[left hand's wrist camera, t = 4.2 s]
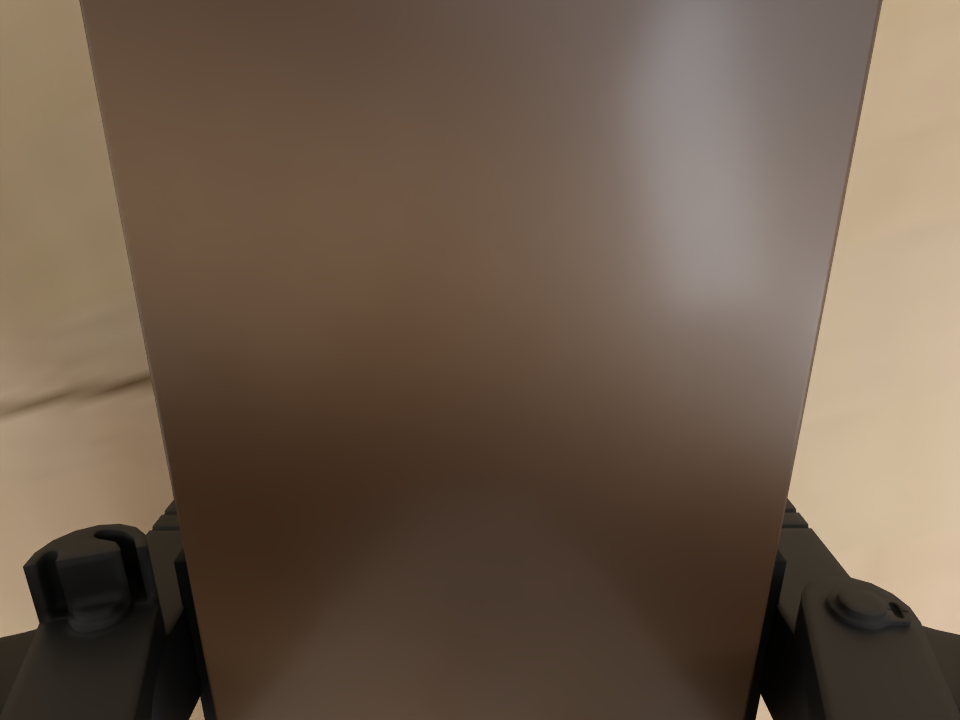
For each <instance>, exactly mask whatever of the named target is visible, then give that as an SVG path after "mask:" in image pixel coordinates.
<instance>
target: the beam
mask: <svg viewBox="0 0 960 720" xmlns="http://www.w3.org/2000/svg"><path fill="white" fill-rule="evenodd" d="M79 1H80V6H81V11H82V17H83V22H84V27H85V32H86V38H87V43H88V48H89V53H90V59H91V64H92V69H93V74H94V80H95V85H96V90H97V96H98V101H99V106H100V111H101V117H102V122H103V127H104V132H105V138H106V143H107V148H108V153H109V159H110V164H111V169H112V174H113V180H114V185H115V190H116V195H117V201H118V206H119V211H120V217H121V222H122V227H123V232H124V238H125V243H126V248H127V253H128V259H129V264H130V269H131V274H132V280H133V285H134V290H135V295H136V301H137V306H138V311H139V317H140V322H141V327H142V332H143V338H144V343H145V348H146V353H147V359H148V364H149V369H150V374H151V380H152V385H153V390H154V395H155V401H156V406H157V411H158V416H159V422H160V427H161V432H162V438H163V443H164V448H165V453H166V459H167V464H168V469H169V474H170V480H171V485H172V490H173V495H174V501H175V506H176V511H177V516H178V522H179V527H180V532H181V537H182V543H183V548H184V553H185V559H186V564H187V569H188V574H189V580H190V585H191V590H192V595H193V601H194V606H195V611H196V616H197V622H198V627H199V632H200V637H201V643H202V648H203V653H204V659H205V664H206V669H207V674H208V680H209V685H210V690H211V695H212V701H213V706H214V711H215V716H216V720H745V716H746V711H747V705H748V700H749V695H750V690H751V684H752V679H753V674H754V669H755V664H756V658H757V653H758V648H759V643H760V637H761V632H762V627H763V622H764V617H765V611H766V606H767V601H768V596H769V590H770V585H771V580H772V575H773V569H774V564H775V559H776V554H777V549H778V543H779V538H780V533H781V528H782V522H783V517H784V512H785V507H786V502H787V496H788V491H789V486H790V481H791V475H792V470H793V465H794V460H795V455H796V449H797V444H798V439H799V434H800V428H801V423H802V418H803V413H804V407H805V402H806V397H807V392H808V387H809V381H810V376H811V371H812V366H813V360H814V355H815V350H816V345H817V340H818V334H819V329H820V324H821V319H822V313H823V308H824V303H825V298H826V292H827V287H828V282H829V277H830V272H831V266H832V261H833V256H834V251H835V245H836V240H837V235H838V230H839V225H840V219H841V214H842V209H843V204H844V198H845V193H846V188H847V183H848V178H849V172H850V167H851V162H852V157H853V151H854V146H855V141H856V136H857V130H858V125H859V120H860V115H861V110H862V104H863V99H864V94H865V89H866V83H867V78H868V73H869V68H870V63H871V57H872V52H873V47H874V42H875V36H876V31H877V26H878V21H879V16H880V10H881V5H882V0H79Z"/></svg>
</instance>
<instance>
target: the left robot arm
mask: <svg viewBox="0 0 960 720" xmlns="http://www.w3.org/2000/svg"><path fill="white" fill-rule="evenodd" d="M23 569H24V572H25V575H26V579H27V582H28V586H29V589H30V592H31V596H32V599H33V602H34V606H35V609H36V613H37V616H38V619H39V626H38V628H37V629H35V630H32V631H28V632H25V633H20V634H16V635H11V636H6V637H2V638H0V720H189V718H190V716H191V714H192V712H193V710H194V708H195V706H196V704H197V702H198V699H199V697H201V702H202V707H203V712H204V717H205V720H216V716H215V711H214V706H213V701H212V695H211V690H210V685H209V680H208V674H207V669H206V664H205V659H204V653H203V648H202V643H201V637H200V632H199V627H198V622H197V616H196V611H195V606H194V601H193V595H192V590H191V585H190V580H189V574H188V569H187V564H186V559H185V553H184V548H183V543H182V537H181V532H180V527H179V522H178V516H177V511H176V506H175V501H174V500H173V502H172V503H171V504H170V505H169V507H168V508H167V509H166V510H165V515H161V517H160V518H159V519H158V521H157V522H156V523H155V524H154V526H153V530H152V531H149V532H148V533H147V534H146V535H145V534H144V533H143V532H141V531H140V530H139V529H137V528H136V527H132V526H127V525H122V524H110V525H97V526H93V527H89V528H85V529H81V530H77V531H74V532H72V533H69V534H67V535H65V536H62V537H60V538H58V539H56V540H53V541H52V542H50V543H49V544H47V545H46V546H44V547H43V548H41V549H40V550H38V551H37V552H35V553H34V554H33V555H32V557H31V558H30V559H29V560H28V561H27V563H26V564H25V565H24V566H23ZM760 694H761V695H762V697H763V700H764V702H765V704H766V706H767V708H768V710H769V712H770V714H771V716H772V718H773V720H960V635H958V634H953V633H948V632H944V631H939V630H935V629H932V628H928V627H924V626H922V625H921V622H920V621H919V619H918V618H917V617H916V615H915V614H914V612H913V611H912V610H911V608H910V607H909V606H907V605H906V604H905V603H904V602H902V601H901V600H900V599H898V598H897V597H896V596H895V595H893V594H892V593H890V592H888V591H886V590H884V589H882V588H880V587H878V586H876V585H874V584H872V583H868V582H865V581H861V580H857V579H854V578H850V576H849V575H848V574H847V573H846V571H845V570H844V569H843V568H842V566H841V565H840V564H839V562H838V561H837V560H836V559H835V557H834V556H833V555H832V554H831V552H830V551H829V550H828V549H827V547H826V546H825V545H824V544H823V542H822V541H821V540H820V539H819V537H818V536H817V535H816V534H815V532H814V531H813V530H812V529H811V528H808V523H807V522H806V521H805V520H804V518H803V517H802V516H801V515H800V513H796V508H795V507H794V506H793V505H792V503H791V502H790V501H789V500H788V498H787V502H786V507H785V512H784V517H783V522H782V528H781V533H780V538H779V543H778V549H777V554H776V559H775V564H774V569H773V575H772V580H771V585H770V590H769V596H768V601H767V606H766V611H765V617H764V622H763V627H762V632H761V637H760V643H759V648H758V653H757V658H756V664H755V669H754V674H753V679H752V684H751V690H750V695H749V700H748V705H747V711H746V716H745V720H755V719H756V714H757V709H758V704H759V699H760Z"/></svg>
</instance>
